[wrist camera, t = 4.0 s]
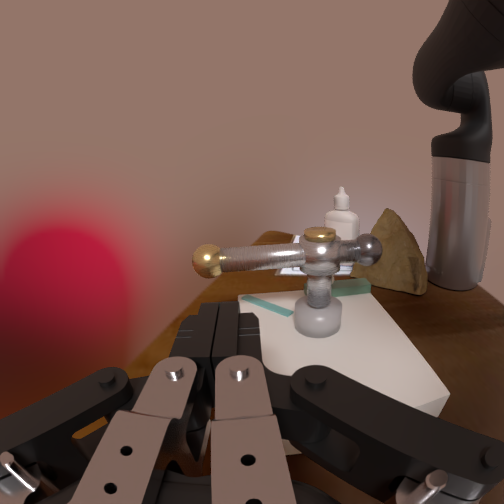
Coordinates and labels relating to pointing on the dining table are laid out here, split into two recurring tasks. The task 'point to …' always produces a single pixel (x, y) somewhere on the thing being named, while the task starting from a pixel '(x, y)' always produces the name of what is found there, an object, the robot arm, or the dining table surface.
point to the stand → (344, 343)
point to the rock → (395, 258)
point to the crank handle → (294, 259)
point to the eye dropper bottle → (343, 219)
